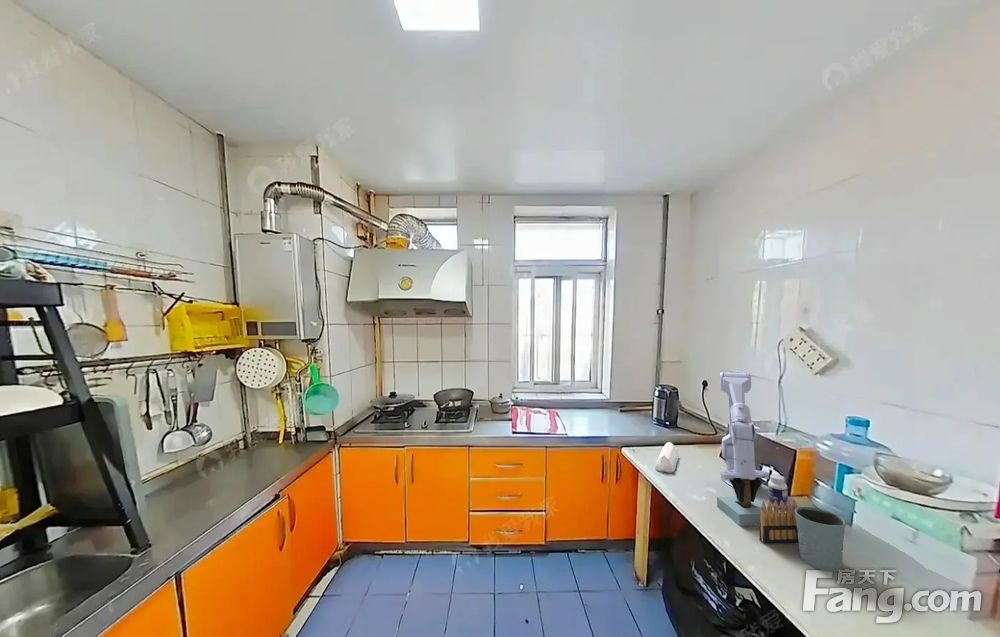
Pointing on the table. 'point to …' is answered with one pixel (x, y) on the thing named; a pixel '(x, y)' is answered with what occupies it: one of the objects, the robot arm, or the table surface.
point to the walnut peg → (746, 494)
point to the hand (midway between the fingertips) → (745, 500)
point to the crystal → (667, 458)
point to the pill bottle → (777, 490)
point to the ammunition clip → (778, 524)
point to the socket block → (740, 510)
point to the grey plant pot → (820, 538)
